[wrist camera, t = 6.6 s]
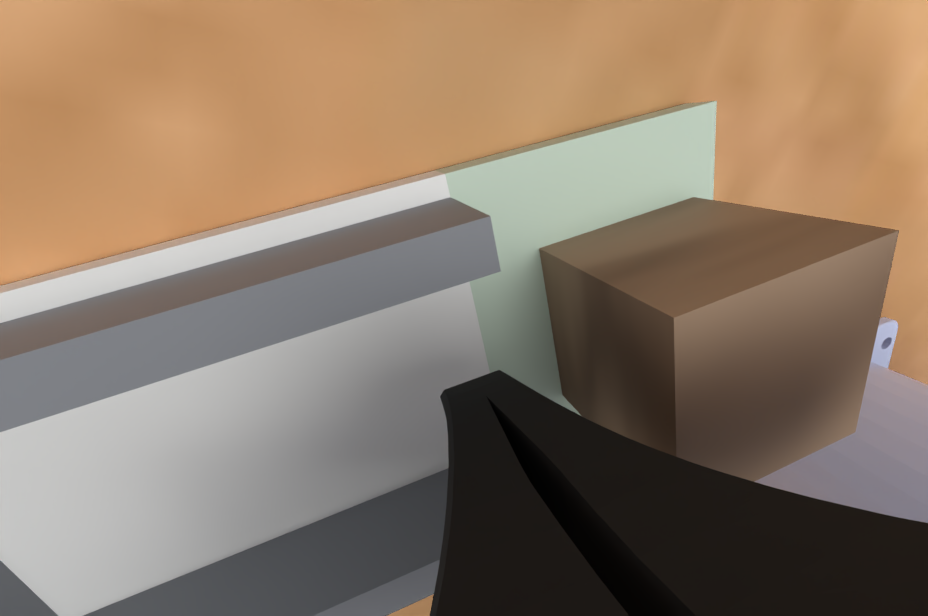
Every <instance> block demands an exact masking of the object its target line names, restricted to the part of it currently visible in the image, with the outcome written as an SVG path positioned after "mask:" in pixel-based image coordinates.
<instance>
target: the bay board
mask: <svg viewBox="0 0 928 616" xmlns="http://www.w3.org/2000/svg"><path fill="white" fill-rule="evenodd" d="M716 103H717V101H709V102H698V103H687V104H682V105H679V106H675V107H671V108H667V109H664V110H660V111H656V112H652V113H648V114H645V115H641V116H637V117H633V118H630V119H626V120H622V121H618V122H615V123H611V124H607V125H603V126H600V127H596V128H592V129H588V130H585V131H581V132H577V133H573V134H569V135H566V136H562V137H558V138H554V139H551V140H547V141H543V142H539V143H536V144H532V145H528V146H524V147H521V148H517V149H513V150H509V151H506V152H502V153H498V154H494V155H490V156H487V157H483V158H479V159H475V160H472V161H468V162H464V163H460V164H457V165H453V166H449V167H445V168H442V169H438V170H434V171H430V172H427V173H423V174H419V175H415V176H412V177H408V178H404V179H400V180H396V181H393V182H389V183H385V184H381V185H378V186H374V187H370V188H366V189H363V190H359V191H355V192H351V193H348V194H344V195H340V196H336V197H333V198H329V199H325V200H321V201H317V202H314V203H310V204H306V205H302V206H299V207H295V208H291V209H287V210H284V211H280V212H276V213H272V214H269V215H265V216H261V217H257V218H254V219H250V220H246V221H242V222H238V223H235V224H231V225H227V226H223V227H220V228H216V229H212V230H208V231H205V232H201V233H197V234H193V235H190V236H186V237H182V238H178V239H175V240H171V241H167V242H163V243H159V244H156V245H152V246H148V247H144V248H141V249H137V250H133V251H129V252H126V253H122V254H118V255H114V256H111V257H107V258H103V259H99V260H96V261H92V262H88V263H84V264H80V265H77V266H73V267H69V268H65V269H62V270H58V271H54V272H50V273H47V274H43V275H39V276H35V277H32V278H28V279H24V280H20V281H17V282H13V283H9V284H5V285H1V286H0V616H387V615H389V614H391V613H393V612H395V611H397V610H400V609H402V608H404V607H406V606H408V605H411V604H413V603H415V602H417V601H419V600H421V599H424V598H426V597H428V596H430V595H432V594H434V591H435V585H436V580H437V574H438V569H439V562H440V555H441V548H442V541H443V533H444V525H445V515H446V503H447V487H448V467H449V459H448V430H447V420H446V415H445V412H444V408H443V405H442V401H441V398H440V396H441V394H442V392H443V391H444V390H445V389H448V388H450V387H453V386H456V385H459V384H461V383H464V382H467V381H470V380H472V379H475V378H478V377H481V376H483V375H486V374H489V373H492V372H494V371H497V370H501V371H502V372H504V373H506V374H508V375H510V376H511V377H513V378H515V379H516V380H518V381H520V382H521V383H523V384H525V385H526V386H528V387H530V388H531V389H533V390H535V391H536V392H538V393H540V394H542V395H543V396H545V397H547V398H549V399H550V400H552V401H554V402H556V403H558V404H560V405H561V406H563V407H565V408H567V409H569V410H571V411H573V412H575V413H577V414H579V412H578V411H577V410H576V409H575V408H574V407H573V406H572V405H571V404H570V403H569V402H568V401H567V400H566V398H565V397H564V396H563V395H562V389H561V383H560V377H559V371H558V364H557V358H556V352H555V346H554V339H553V333H552V327H551V321H550V314H549V308H548V302H547V296H546V289H545V283H544V277H543V271H542V264H541V258H540V252H539V248H542V247H545V246H548V245H551V244H554V243H557V242H560V241H563V240H566V239H569V238H572V237H575V236H578V235H581V234H584V233H587V232H590V231H593V230H596V229H599V228H602V227H605V226H608V225H611V224H614V223H617V222H620V221H623V220H626V219H629V218H632V217H635V216H638V215H641V214H644V213H647V212H650V211H653V210H656V209H659V208H662V207H665V206H668V205H671V204H674V203H677V202H680V201H683V200H686V199H689V198H692V197H697V198H703V199H709V200H713V189H714V160H715V131H716ZM579 415H580V414H579ZM580 416H581V415H580Z"/></svg>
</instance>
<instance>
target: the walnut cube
mask: <svg viewBox="0 0 928 616" xmlns="http://www.w3.org/2000/svg"><path fill="white" fill-rule="evenodd" d="M898 233H899V230H893V229H887V228H881V227H875V226H869V225H863V224H856V223H850V222H844V221H838V220H832V219H826V218H820V217H813V216H807V215H801V214H795V213H789V212H783V211H777V210H770V209H764V208H758V207H752V206H746V205H740V204H734V203H727V202H721V201H715V200H709V199H703V198H697V197H692V198H689V199H686V200H683V201H680V202H677V203H674V204H671V205H668V206H665V207H662V208H659V209H656V210H653V211H650V212H647V213H644V214H641V215H638V216H635V217H632V218H629V219H626V220H623V221H620V222H617V223H614V224H611V225H608V226H605V227H602V228H599V229H596V230H593V231H590V232H587V233H584V234H581V235H578V236H575V237H572V238H569V239H566V240H563V241H560V242H557V243H554V244H551V245H548V246H545V247H542V248H539V252H540V258H541V264H542V271H543V277H544V283H545V289H546V296H547V302H548V308H549V314H550V321H551V327H552V333H553V339H554V346H555V352H556V358H557V364H558V371H559V377H560V383H561V389H562V395H563V396H564V397H565V398H566V400H567V401H568V402H569V403H570V404H571V405H572V406H573V407H574V408H575V409H576V410H577V411H578V412H579V414H580V415H581V416H582V417H584V418H586V419H588V420H590V421H592V422H594V423H596V424H599V425H601V426H603V427H605V428H607V429H609V430H611V431H614V432H616V433H618V434H620V435H623V436H625V437H627V438H629V439H632V440H634V441H637V442H639V443H641V444H644V445H646V446H649V447H652V448H654V449H657V450H660V451H662V452H665V453H668V454H670V455H673V456H676V457H679V458H681V459H684V460H687V461H689V462H692V463H695V464H698V465H701V466H704V467H707V468H710V469H713V470H716V471H720V472H723V473H726V474H730V475H733V476H736V477H740V478H743V479H746V480H750V481H753V482H755V481H757V480H759V479H761V478H763V477H765V476H767V475H769V474H771V473H773V472H775V471H777V470H779V469H781V468H783V467H785V466H787V465H789V464H791V463H793V462H795V461H798V460H800V459H802V458H804V457H806V456H808V455H810V454H812V453H814V452H816V451H818V450H820V449H822V448H824V447H826V446H828V445H830V444H832V443H834V442H836V441H838V440H841V439H843V438H845V437H847V436H849V435H851V434H853V433H855V432H856V427H857V423H858V418H859V413H860V409H861V404H862V399H863V395H864V390H865V386H866V381H867V376H868V372H869V367H870V362H871V358H872V353H873V349H874V344H875V339H876V335H877V330H878V325H879V321H880V316H881V311H882V307H883V302H884V298H885V293H886V288H887V284H888V279H889V274H890V270H891V265H892V261H893V256H894V251H895V247H896V242H897V237H898Z"/></svg>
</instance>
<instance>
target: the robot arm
mask: <svg viewBox="0 0 928 616" xmlns="http://www.w3.org/2000/svg"><path fill="white" fill-rule="evenodd" d="M897 330H898V324H897V321H895V320H892V319H889V318H886V317H883V318H880V321H879V325H878V330H877V335H876V339H875V344H874V349H873V353H872V358H871V362H870V367H869V372H868V376H867V381H866V386H865V390H864V395H863V399H862V404H861V409H860V413H859V418H858V423H857V427H856V432H855V433H853V434H851V435H849V436H847V437H845V438H843V439H841V440H838V441H836V442H834V443H832V444H830V445H828V446H826V447H824V448H822V449H820V450H818V451H816V452H814V453H812V454H810V455H808V456H806V457H804V458H802V459H800V460H798V461H795V462H793V463H791V464H789V465H787V466H785V467H783V468H781V469H779V470H777V471H775V472H773V473H771V474H769V475H767V476H765V477H763V478H761V479H759V480H757V481H755V482H753V481H750V480H746V479H743V478H740V477H736V476H733V475H730V474H726V473H723V472H720V471H716V470H713V469H710V468H707V467H704V466H701V465H698V464H695V463H692V462H689V461H687V460H684V459H681V458H679V457H676V456H673V455H670V454H668V453H665V452H662V451H660V450H657V449H654V448H652V447H649V446H646V445H644V444H641V443H639V442H637V441H634V440H632V439H629V438H627V437H625V436H623V435H620V434H618V433H616V432H614V431H611V430H609V429H607V428H605V427H603V426H601V425H599V424H596V423H594V422H592V421H590V420H588V419H586V418H584V417H582V416H580V415H579V414H577V413H575V412H573V411H571V410H569V409H567V408H565V407H563V406H561V405H560V404H558V403H556V402H554V401H552V400H550V399H549V398H547V397H545V396H543V395H542V394H540V393H538V392H536V391H535V390H533V389H531V388H530V387H528V386H526V385H525V384H523V383H521V382H520V381H518V380H516V379H515V378H513V377H511V376H510V375H508V374H506V373H504V372H502V371H501V370H497V371H494V372H492V373H489V374H486V375H483V376H481V377H478V378H475V379H472V380H470V381H467V382H464V383H461V384H459V385H456V386H453V387H450V388H448V389H445V390H444V391H443V392H442V394H441V396H440V398H441V401H442V405H443V408H444V412H445V415H446V420H447V430H448V459H449V467H448V487H447V503H446V515H445V525H444V533H443V541H442V548H441V555H440V562H439V569H438V574H437V580H436V585H435V591H434V596H433V602H432V607H431V612H430V616H928V385H927V384H924V383H922V382H919V381H917V380H914V379H912V378H910V377H907V376H905V375H902V374H900V373H897V372H895V371H892V370H890V369H888V366H889V362H890V358H891V354H892V350H893V346H894V342H895V338H896V334H897Z"/></svg>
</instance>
